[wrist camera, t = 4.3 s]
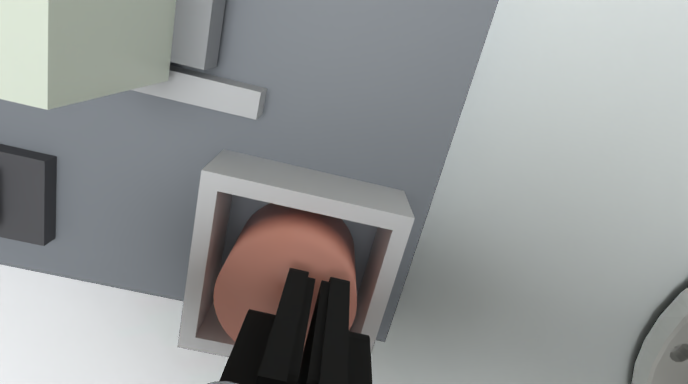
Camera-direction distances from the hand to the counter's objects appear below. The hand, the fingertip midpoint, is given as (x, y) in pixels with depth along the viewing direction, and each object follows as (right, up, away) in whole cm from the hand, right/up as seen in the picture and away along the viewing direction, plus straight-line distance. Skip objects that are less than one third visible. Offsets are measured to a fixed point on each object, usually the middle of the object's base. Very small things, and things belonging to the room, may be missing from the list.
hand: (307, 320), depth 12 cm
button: (-1, +1, +3) cm, 4 cm away
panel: (-5, +6, +3) cm, 8 cm away
